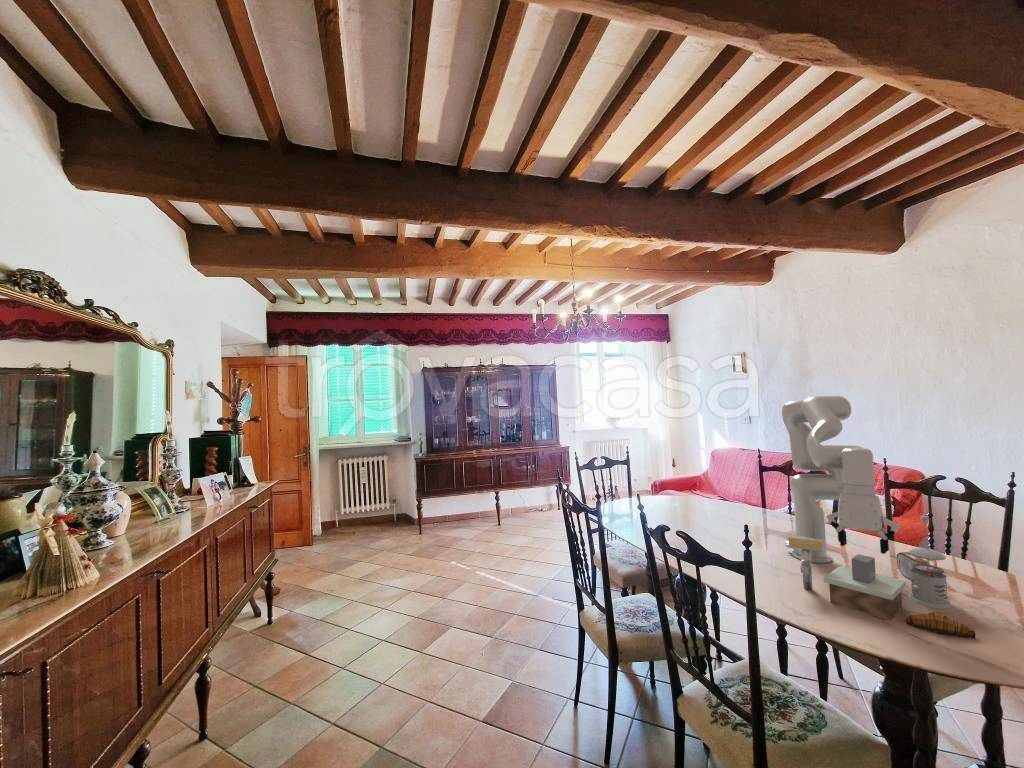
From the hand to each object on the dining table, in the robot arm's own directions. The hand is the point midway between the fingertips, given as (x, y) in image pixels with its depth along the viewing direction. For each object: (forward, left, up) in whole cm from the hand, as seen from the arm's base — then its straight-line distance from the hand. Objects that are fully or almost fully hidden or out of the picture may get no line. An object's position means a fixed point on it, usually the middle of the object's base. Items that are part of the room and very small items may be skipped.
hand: (863, 548), depth 131 cm
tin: (+5, +32, -17) cm, 37 cm away
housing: (0, 0, -16) cm, 16 cm away
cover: (0, 0, -10) cm, 10 cm away
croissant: (+16, -3, -17) cm, 24 cm away
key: (-14, -3, -16) cm, 22 cm away
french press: (+11, +18, -17) cm, 27 cm away
